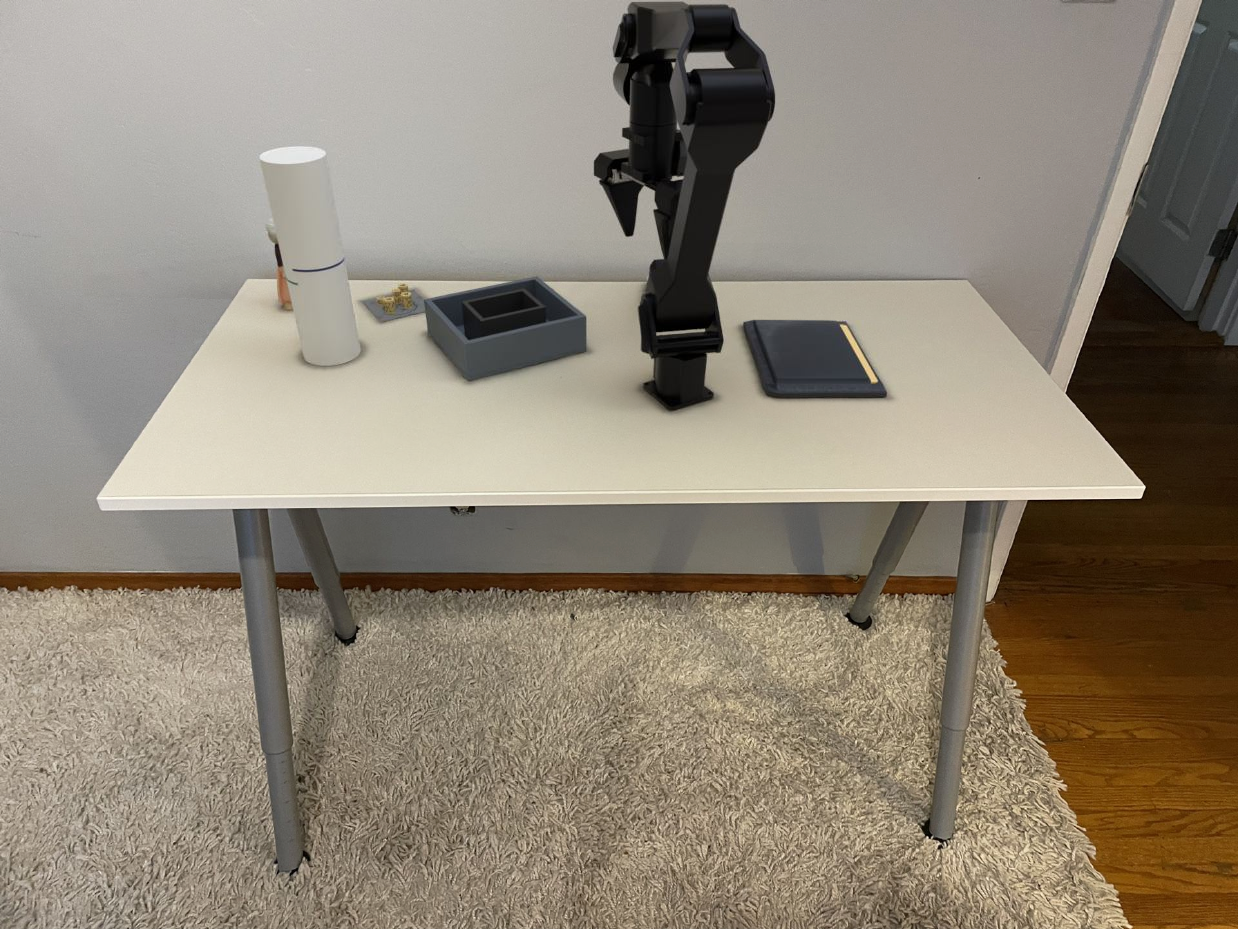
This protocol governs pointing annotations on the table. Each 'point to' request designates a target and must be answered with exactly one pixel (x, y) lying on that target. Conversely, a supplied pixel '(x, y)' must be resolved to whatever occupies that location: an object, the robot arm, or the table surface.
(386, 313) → the dice set
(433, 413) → the table surface
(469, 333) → the black bin
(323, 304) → the cylindrical container
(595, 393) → the table surface
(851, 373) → the wallet
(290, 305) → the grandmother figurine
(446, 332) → the grey bin
